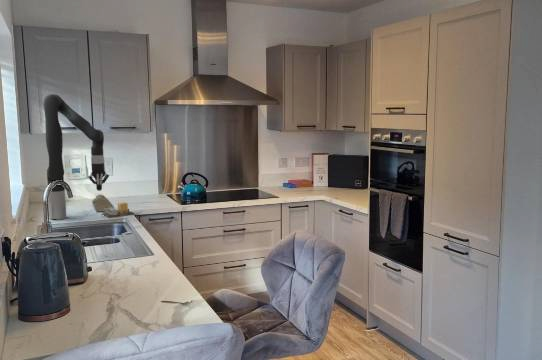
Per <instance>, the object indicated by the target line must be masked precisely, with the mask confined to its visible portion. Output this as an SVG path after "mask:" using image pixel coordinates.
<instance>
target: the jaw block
mask: <svg viewBox="0 0 542 360" xmlns="http://www.w3.org/2000/svg"><path fill="white" fill-rule="evenodd" d="M128 207H129V205H128V202H126V201H123V202H117V210H119V213H124V210H126V213H128V209H129V208H128Z"/></svg>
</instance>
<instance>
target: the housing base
mask: <svg viewBox="0 0 542 360" xmlns="http://www.w3.org/2000/svg"><path fill="white" fill-rule="evenodd" d="M117 213H118V214H116V215H109V214H107V213H105V212H103V213H102V214H101V215H102V216H103V215H104V216H103V217H105V216H106V218H107V217H108V219H111V218H119V217H125V216H124V215H126V216H130V215H129V214H132V215H134V212H133V211H130V208H128V213H126V210H124V213H119V210H118V209H117Z"/></svg>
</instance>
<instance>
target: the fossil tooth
mask: <svg viewBox="0 0 542 360" xmlns="http://www.w3.org/2000/svg"><path fill="white" fill-rule="evenodd" d="M91 203H92V207H93V209H94V211H95V212H97V213H98V211H99V212H105V208H109V207H112V208H115V206H114V205H113V204H112V202H111V201H110V200H109V199H108V198H107V197H106V196H105V195H103V193H99V194H97V195H96V196H95V198H93V199H92V200H91Z"/></svg>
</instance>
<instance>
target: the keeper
mask: <svg viewBox="0 0 542 360" xmlns="http://www.w3.org/2000/svg"><path fill="white" fill-rule="evenodd" d="M117 210H118V208H117V209H116V208H115V207H114V208H112V207H109V208H105V211H104V213H107V214H109V215H116V214H118V213H117Z"/></svg>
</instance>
